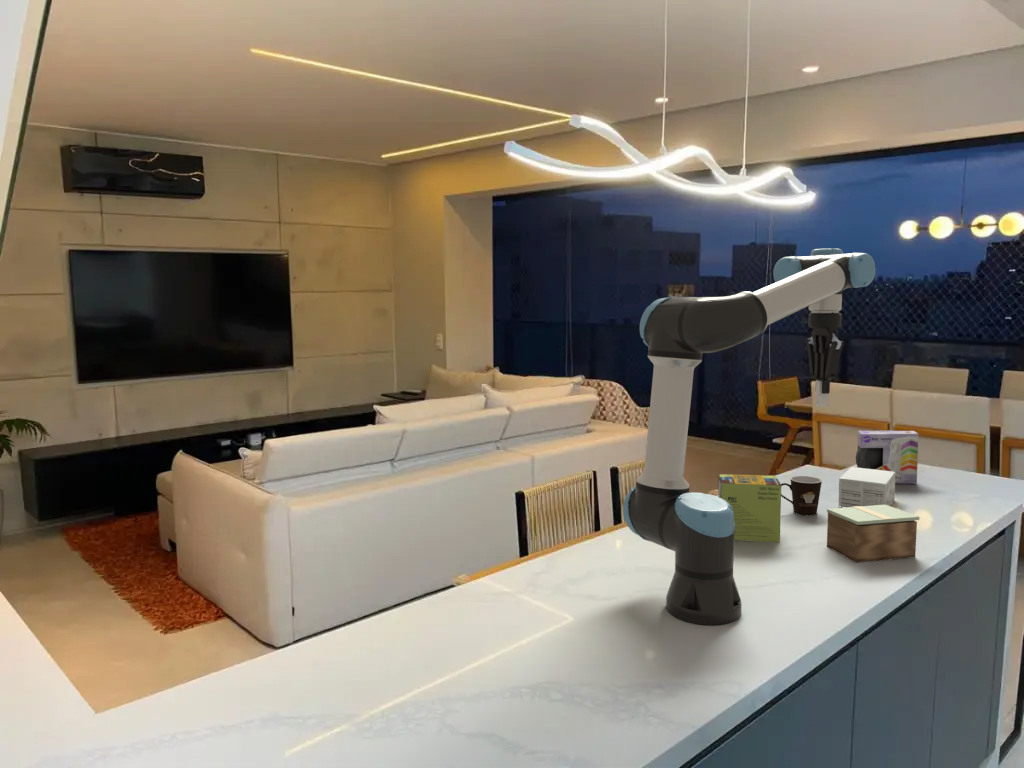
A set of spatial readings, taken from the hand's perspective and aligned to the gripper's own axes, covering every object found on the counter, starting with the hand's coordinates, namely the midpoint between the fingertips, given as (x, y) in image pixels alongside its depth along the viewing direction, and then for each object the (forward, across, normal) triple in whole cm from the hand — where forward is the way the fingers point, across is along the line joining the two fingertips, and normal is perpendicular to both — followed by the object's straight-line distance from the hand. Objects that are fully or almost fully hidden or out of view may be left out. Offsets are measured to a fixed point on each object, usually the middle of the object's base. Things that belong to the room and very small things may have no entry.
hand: (822, 405), depth 187 cm
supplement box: (+37, +31, -36) cm, 60 cm away
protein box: (+37, +12, +13) cm, 41 cm away
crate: (+36, -7, -10) cm, 38 cm away
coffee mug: (+37, +28, -12) cm, 48 cm away
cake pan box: (+37, +52, -58) cm, 86 cm away
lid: (+27, -7, -10) cm, 30 cm away
